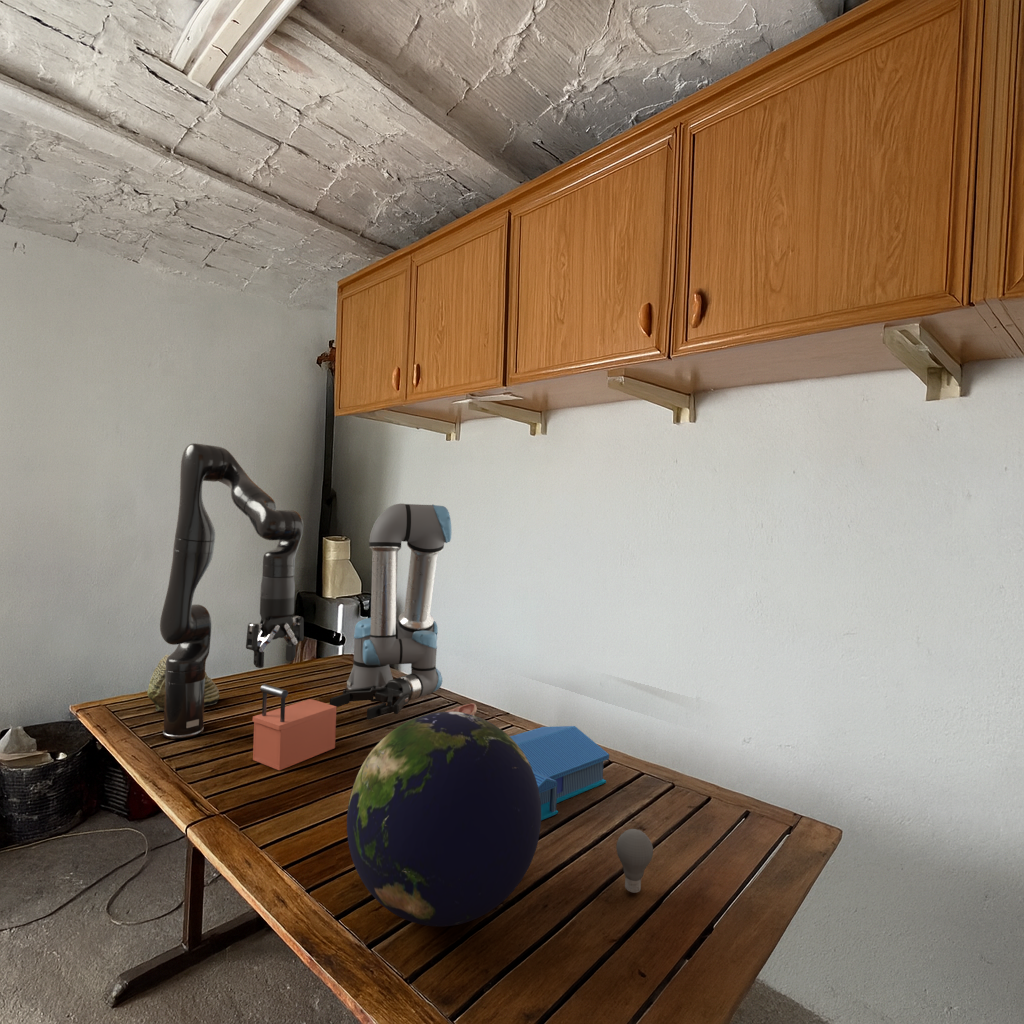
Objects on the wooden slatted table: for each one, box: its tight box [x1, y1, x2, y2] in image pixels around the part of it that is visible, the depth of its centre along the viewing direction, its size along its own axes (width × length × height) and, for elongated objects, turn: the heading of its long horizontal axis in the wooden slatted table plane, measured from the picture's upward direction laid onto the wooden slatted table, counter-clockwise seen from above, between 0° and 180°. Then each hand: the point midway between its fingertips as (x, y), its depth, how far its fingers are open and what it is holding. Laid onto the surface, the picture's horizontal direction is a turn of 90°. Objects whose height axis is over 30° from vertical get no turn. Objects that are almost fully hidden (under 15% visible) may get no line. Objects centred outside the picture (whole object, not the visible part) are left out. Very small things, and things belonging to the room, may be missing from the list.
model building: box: [509, 725, 610, 822], centre depth 140 cm, size 39×24×10 cm, turn 132°
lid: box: [252, 683, 337, 730], centre depth 155 cm, size 17×10×9 cm, turn 148°
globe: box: [346, 711, 542, 928], centre depth 99 cm, size 30×30×30 cm
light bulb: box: [615, 828, 654, 894], centre depth 106 cm, size 6×6×10 cm
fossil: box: [147, 654, 221, 712], centre depth 185 cm, size 9×18×15 cm, turn 132°
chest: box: [252, 710, 337, 771], centre depth 155 cm, size 17×10×9 cm, turn 148°
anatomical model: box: [444, 702, 478, 716], centre depth 183 cm, size 13×4×12 cm
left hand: (275, 663), depth 149 cm, fingers open, 8 cm apart
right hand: (348, 709), depth 168 cm, fingers open, 13 cm apart
